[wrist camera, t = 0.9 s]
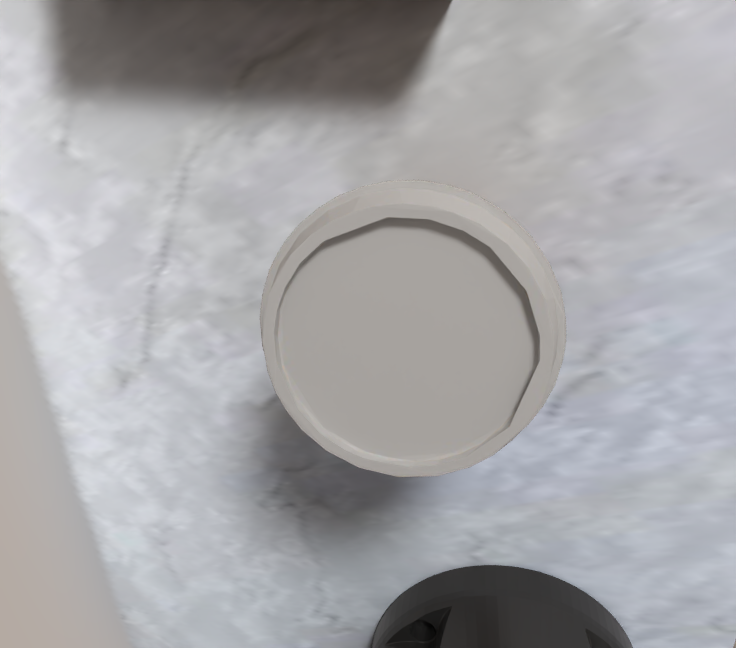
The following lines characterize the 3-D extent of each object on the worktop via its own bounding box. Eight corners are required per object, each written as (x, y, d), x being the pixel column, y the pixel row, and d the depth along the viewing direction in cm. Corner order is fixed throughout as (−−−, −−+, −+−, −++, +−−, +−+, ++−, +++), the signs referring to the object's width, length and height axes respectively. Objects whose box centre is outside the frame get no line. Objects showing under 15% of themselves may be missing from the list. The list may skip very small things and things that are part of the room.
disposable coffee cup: (420, 388, 32) (390, 540, 21) (291, 246, 31) (185, 327, 20) (579, 270, 29) (643, 375, 18) (443, 106, 28) (419, 107, 16)
